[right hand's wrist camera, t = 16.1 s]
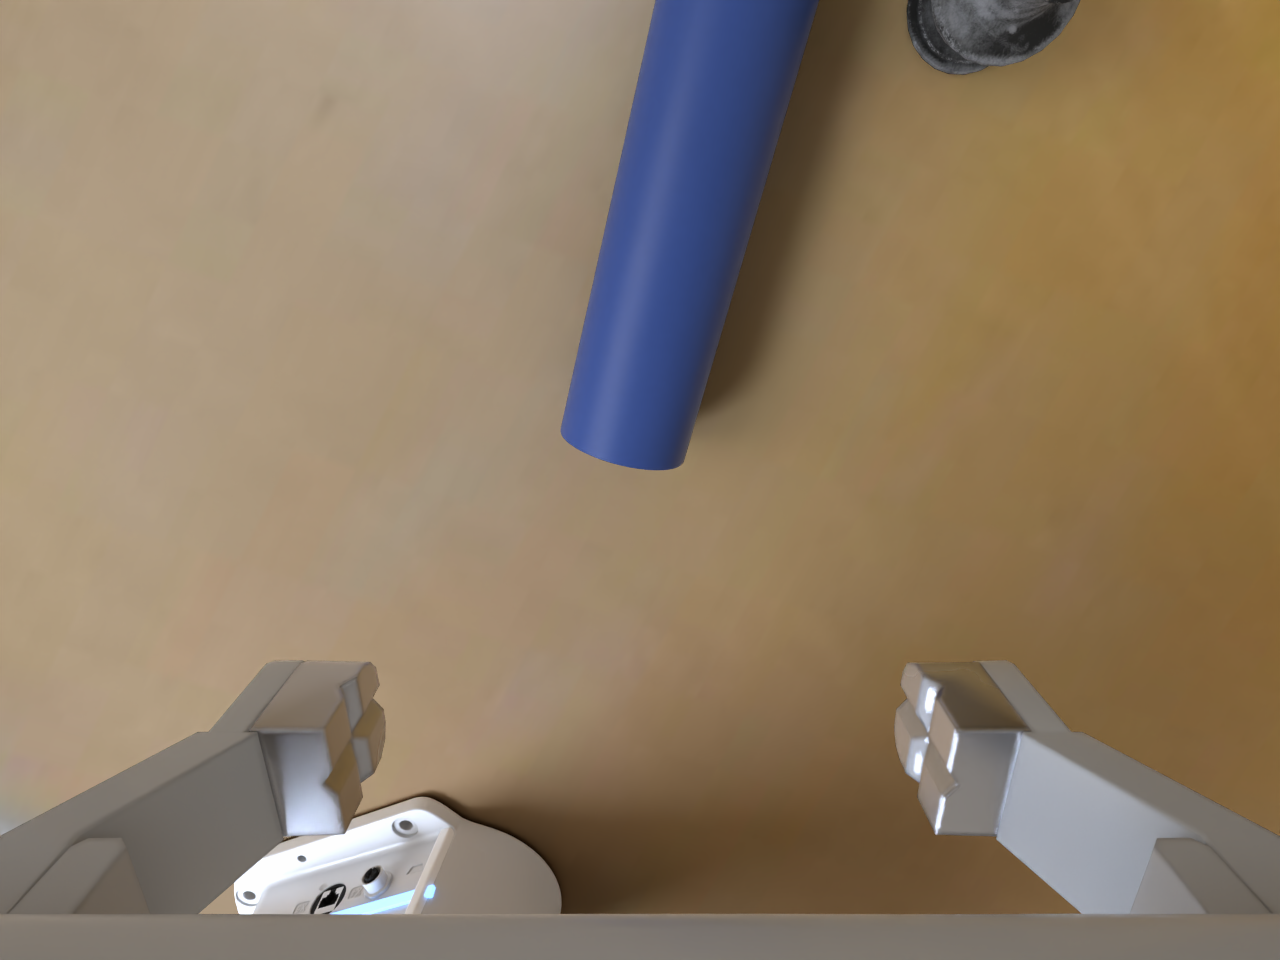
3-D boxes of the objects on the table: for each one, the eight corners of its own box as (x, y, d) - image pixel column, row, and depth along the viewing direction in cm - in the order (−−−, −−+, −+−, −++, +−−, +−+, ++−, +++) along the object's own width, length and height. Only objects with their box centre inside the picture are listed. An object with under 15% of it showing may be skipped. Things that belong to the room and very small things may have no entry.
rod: (679, 439, 37) (688, 481, 31) (566, 412, 36) (553, 450, 30) (826, -70, 29) (874, -141, 23) (683, -116, 28) (696, -201, 22)
